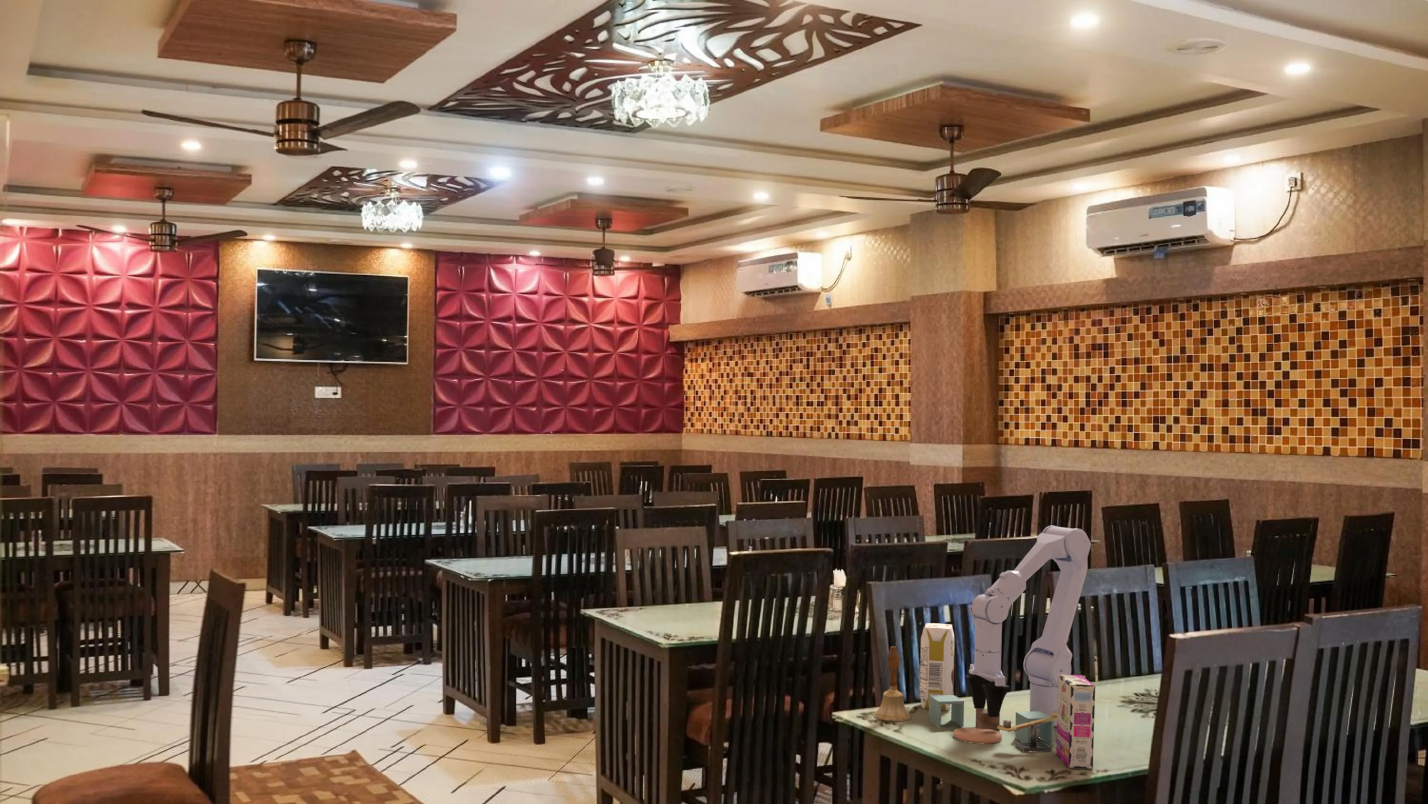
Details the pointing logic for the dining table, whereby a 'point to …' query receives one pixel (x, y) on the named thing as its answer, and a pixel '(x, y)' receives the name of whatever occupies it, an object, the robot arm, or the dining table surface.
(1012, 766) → the dining table surface
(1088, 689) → the candy bar box
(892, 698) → the hand bell
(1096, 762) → the dining table surface
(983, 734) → the terracotta dish
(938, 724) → the teal cover
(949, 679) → the juice carton
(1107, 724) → the dining table surface
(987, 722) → the walnut block
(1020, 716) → the teal cover
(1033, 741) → the balance
